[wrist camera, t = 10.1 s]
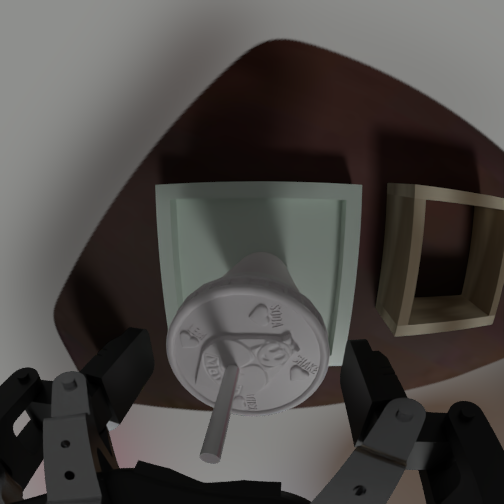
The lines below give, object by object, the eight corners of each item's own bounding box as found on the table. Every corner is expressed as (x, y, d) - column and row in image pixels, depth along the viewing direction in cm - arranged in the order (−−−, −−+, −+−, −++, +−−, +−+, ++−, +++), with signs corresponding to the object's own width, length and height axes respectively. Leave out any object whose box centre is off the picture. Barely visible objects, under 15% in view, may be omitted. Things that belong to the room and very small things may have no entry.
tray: (352, 184, 18) (362, 185, 16) (337, 348, 21) (342, 365, 19) (169, 184, 19) (155, 185, 17) (181, 342, 23) (172, 358, 20)
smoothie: (198, 260, 19) (72, 394, 6) (279, 213, 18) (282, 308, 5) (245, 332, 20) (204, 506, 7) (324, 294, 19) (380, 469, 6)
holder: (481, 195, 17) (514, 200, 13) (465, 302, 19) (492, 324, 15) (387, 182, 18) (415, 184, 14) (375, 308, 20) (394, 336, 16)
